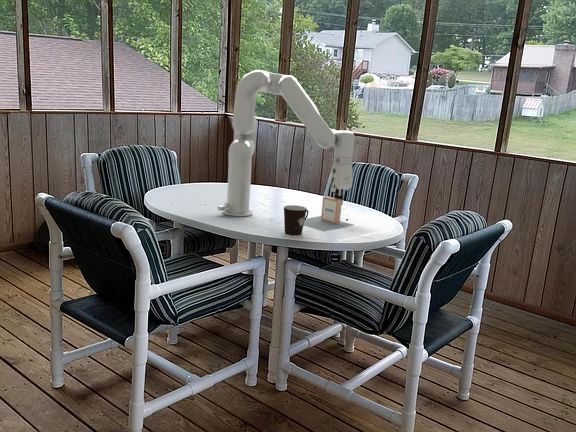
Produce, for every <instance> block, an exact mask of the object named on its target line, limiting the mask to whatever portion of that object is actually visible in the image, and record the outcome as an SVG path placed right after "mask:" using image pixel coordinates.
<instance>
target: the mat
mask: <svg viewBox="0 0 576 432" xmlns="http://www.w3.org/2000/svg"><path fill="white" fill-rule="evenodd" d="M352 226H354V224H353V223H349V222H346V221H341V220H340V223H339V224H333V223H330V222H326V221H323V220H321V215H319V216H312V217H307V218H306V220H305V221H304V225H303V227H308V228H310V229H313V230H314V229H315V230H317V231H320V232H327V231H328V232H329V231H333V230H337V229H343V228H347V227H352Z"/></svg>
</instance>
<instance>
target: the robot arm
mask: <svg viewBox="0 0 576 432" xmlns="http://www.w3.org/2000/svg"><path fill="white" fill-rule="evenodd" d="M259 93H265V94H266V93H267V94H272V95H277V96H282V98H283V99H284V101H285V102H286V104H287V105H288V106H289V108H290V109H291V110H292V111H293V113H294V114H295V115H296V117H297V118H298V120H299V122H301V123H302V125H304V127H305V129H306V131H308V133H309V134H310V135H311V137H312V138H313V139H314V141H315V142H316V144H317V145H318V146H319V147H320V148H322V149H331V148H332V147H334V149H333V150H334V152H333V161H332V162H333V163H332V166H331V169H330V175H329V177H330V178H329V187H330V192H333V195H334V198H337V199H341V200H342V204H343V202H344V196H345V194H346V193H345V192H346V191H349V189H351V188H352V186H353V172H354V171H353V164H352V162H353V152H354V144H355V142H354V141H355V133H354V132H353V131H349V130H336V129H331V128H330V127H329V125H328V123H326V121H325V119H324V118H323V117H322V116H321V114H320V112H319V110H318V109H317V106H316V105H315V103H314V102H313V100H312V99H311V98H310V96H309V95H308V94H307V92H306V91H305V89H304V88H303V87H302V85H301V83H300V82H299V81H298V80H297V78H296V76H295V77H294V76H293V75H290V74H289V75H288V74H282V73H281V74H280V73H274V72H270V71H269V72H268V71H265V70H262V69H256V70H252V71H249V73H246V74H244V75H243V76H242V77H241V79H240V80H239V82H238V83H237V86H236V89H235V94H234V95H235V98H234V105H233V116H232V122H231V123H232V125H231V126H232V128H233V141H232V142H231V143H230V145H229V148H228V153H227V154H228V171H227V173H228V174H227V192H226V193H227V194H226V202H224V205H218V206H217V210H218V211H219V212H220V211H221V212H222V214H223V215H227V216H231V217H249V216H252V215H253V211H252V210H251V209H250V199H251V198H250V197H251V183H252V182H251V181H252V180H251V179H252V161H253V160H252V158H253V155H254V153H255V149H256V140H257V129H258V121H257V117H256V116H255V114H256V112H255V111H256V103H257V102H256V101H257V96H258V94H259Z"/></svg>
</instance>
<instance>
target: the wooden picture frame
mask: <svg viewBox="0 0 576 432" xmlns="http://www.w3.org/2000/svg"><path fill="white" fill-rule="evenodd" d="M321 205H322V206H321V215H320V216H321V220H323V221H326V222H330V223H333V224H339V223H340V221H341V214H342V206H343V203H342V200H341V199H337V198H335V197H332V196H328V195H327V196H322V204H321Z"/></svg>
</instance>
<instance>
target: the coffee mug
mask: <svg viewBox="0 0 576 432" xmlns="http://www.w3.org/2000/svg"><path fill="white" fill-rule="evenodd" d="M308 216H309V210H308V208H307V207H305V206H302V205H296V204H295V205H293V204H291V205H289V204H287V205H284V206H283V217H284V218H283V220H284V221H283V222H284V234H285V235H287V236H291V237H292V236H294V237H297V236H298V237H299V236H302V234H303V229H304V221H305V220H306V219H307V218H308Z"/></svg>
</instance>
